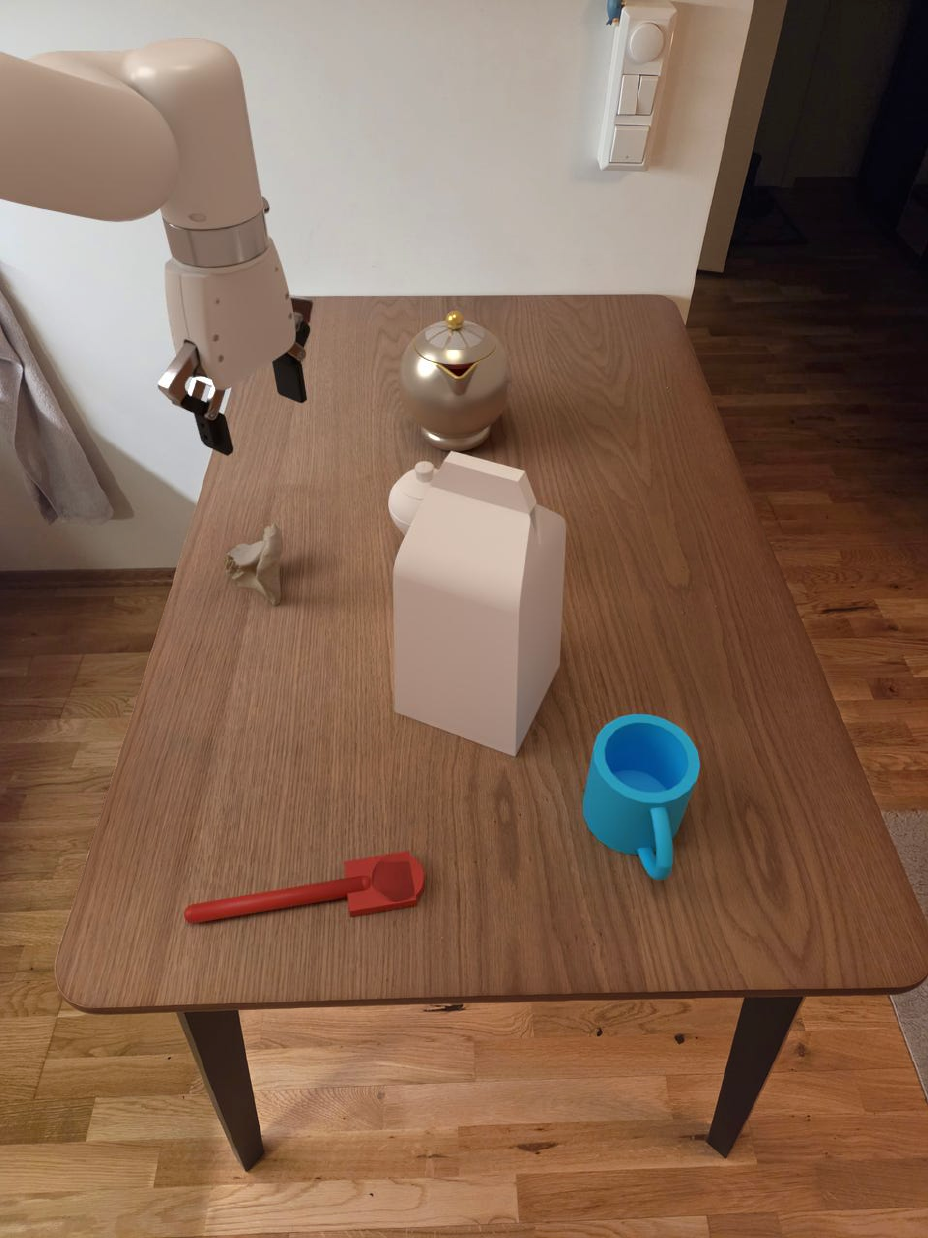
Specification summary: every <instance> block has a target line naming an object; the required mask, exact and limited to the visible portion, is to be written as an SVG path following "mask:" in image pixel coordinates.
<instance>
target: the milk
mask: <svg viewBox="0 0 928 1238" xmlns="http://www.w3.org/2000/svg"><path fill="white" fill-rule="evenodd" d="M566 537H567V524H566V519H564V517H563V516H562V515H561V514H559V513H557V512H555V511H553V510H551V509H549V508H547V507H545V506H542V505H541V504H538V503H537V499H536V496H535V494H534V491H533V489H532V485H531V483H530V480H529V477H528V475H527V473H526V471H525V470H523V469H519V468H516V467H512V466H508V465H505V464H501V463H497V462H493V461H490V460H486V459H483V458H480V457H475V456H473V455H472V456H471V455H468V454H465V453H461V452H458V451H449V453H448V454H447V456H446V457H445V458H444V460H443V461H442V463H441V465H440V466H439V468H438V472H437V474H436V475H435V477H434V479H433V481H432V482H431V487H430V488H428V490H427V492H426V494H425V496H424V498H423V500H422V503H421V505H420V507H419V509H418V511H417V513H416V515H415V517H414V519H413V521H412V523H411V525H410V528H409V530H408V532H407V534H406V536H404V538H403V540H402V542H401V544H400V547H399V549H398V551H397V553H396V554H397V555H396V556H395V560H394V565H393V570H392V598H393V599H392V605H393V607H392V608H393V609H392V611H393V612H392V613H393V614H392V615H393V618H392V619H393V696H394V697H393V698H394V700H393V704H394V706H393V707H394V713H396V714H398V715H401V716H403V717H407V718H409V719H412V720H415V721H418V722H420V723H423V724H426V725H428V726H430V727H433V728H436V729H439V730H441V731H444V732H447V733H449V734H453V735H455V736H457V737H459V738H462V739H466V740H468V741H471V742H474V743H476V744H479V745H482V746H484V747H486V748H490V749H492V750H495V751H497V752H500V753H503V754H506V755H508V756H511V757H514V758H516V756H517V754H518V753H519V750H520V748H521V746H522V745H523V743H524V740H525V738H526V736H527V734H528V732H529V729H530V728H531V726H532V723H533V721H534V720H535V717H536V715H537V713H538V711H539V709H540V708H541V705H542V703H543V700H544V699H545V696H546V694H547V692H548V690H549V688H550V686H551V685H552V682H553V680H554V678H555V676H556V674H557V671H558V670H559V668H560V665H561V646H562V645H561V643H562V627H563V605H564V604H563V601H564V583H565V582H564V581H565V564H566V563H565V562H566V540H567V538H566Z"/></svg>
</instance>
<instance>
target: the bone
mask: <svg viewBox="0 0 928 1238" xmlns="http://www.w3.org/2000/svg"><path fill="white" fill-rule="evenodd" d="M283 551H284V537H283V532H282V530H281V528H280V527H279V526H278V525H277V524H276V523H273V524H272V525H267V526H266V527H265V528H264V530H263V535H262V539H261V540H259V541H256V542H254V543H253V544H248V543H239V544H237V545H236V546H235V547H234V548H231V549H230V550H229V551H228V552H227V553H226V556H227V557H225V558H223V565H224V568H225V572H224V573H225V576H226V577H227V578H228V579H231V580H232V581H233V582H234V583H236V584H237V585H236V587H237V588H245V589H252V590H255V591H257V592H259V593H260V594H261V595H262V596H263V597H264V598H265V599H267V601H269V603H271V604H272V606H273V607H276V606H278V605H280V602H281V600H282V599H281V597H282V595H281V584H280V583H281V581H280V580H281V579H280V578H281V577H280V566H281V563H280V560H281V556H282V554H283Z"/></svg>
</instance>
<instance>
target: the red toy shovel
mask: <svg viewBox="0 0 928 1238" xmlns="http://www.w3.org/2000/svg"><path fill="white" fill-rule="evenodd" d="M344 873H345V874H344V875H345V878H340V879H333V880H329V881H322V882H316V883H311V884H305V885H298V886H291V887H286V888H285V887H284V888H280V889H274V890H268V891H262V892H261V891H260V892H257V893H250V894H243V895H237V896H232V897H225V898H220V899H214V900H208V901H203V902H197V903H191V904H189V905H187V907H185V909H184V912H183V917H184V918H183V919H184V920H185V921H186V922H187V923H190V924H198V923H202V922H203V923H204V922H208V921H209V922H210V921H215V920H220V919H226V918H231V917H237V916H245V915H251V914H255V913H256V914H257V913H262V912H268V911H275V910H279V909H287V908H291V907H296V906H303V905H309V904H314V903H320V902H321V903H322V902H326V901H332V900H336V899H344V898H347V904H348V913H349V917H351V918H352V917H356V916H362V915H363V916H364V915H368V914H374V913H379V912H386V911H392V910H398V909H404V908H409V907H415V906H418V903H417V902H418V900H419V899H420V897H421V896H422V894H423V892H424V889H425V884H426V880H425V879H426V878H425V870H424V868H423V865H422V864H421V862H420V861H419V860H418V859H417V858H415V857H414V856H412V855H411V853H410V850H405V851H400V852H393V853H388V854H381V855H376V856H370V857H369V856H368V857H364V858H357V859H351V860H346V861H344Z"/></svg>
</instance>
